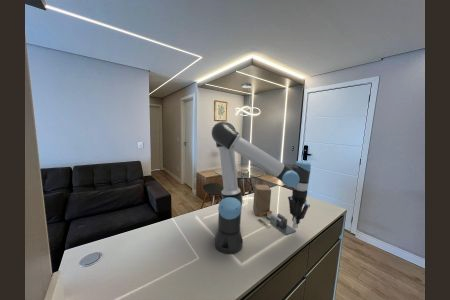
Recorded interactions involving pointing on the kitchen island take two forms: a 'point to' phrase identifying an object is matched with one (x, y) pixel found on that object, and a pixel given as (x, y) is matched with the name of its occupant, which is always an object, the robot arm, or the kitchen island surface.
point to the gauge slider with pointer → (280, 221)
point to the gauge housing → (274, 223)
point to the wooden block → (261, 199)
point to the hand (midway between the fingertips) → (295, 227)
